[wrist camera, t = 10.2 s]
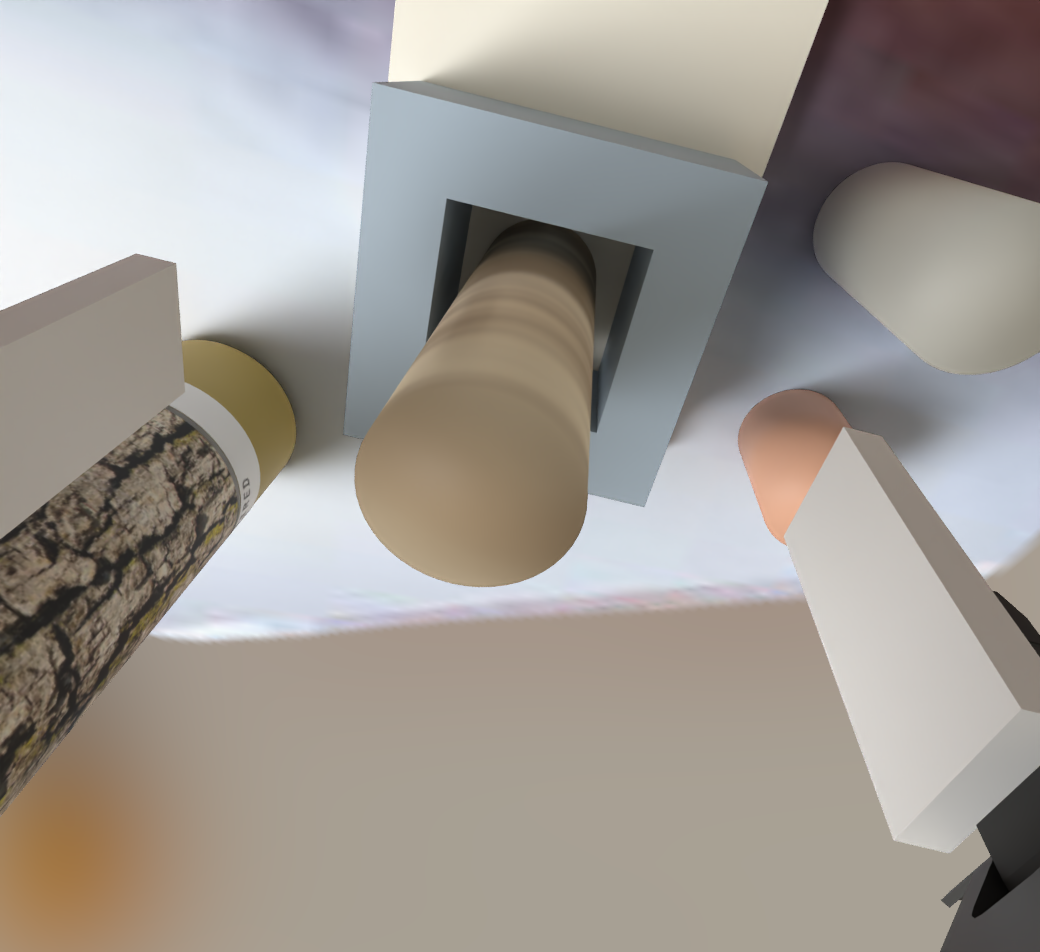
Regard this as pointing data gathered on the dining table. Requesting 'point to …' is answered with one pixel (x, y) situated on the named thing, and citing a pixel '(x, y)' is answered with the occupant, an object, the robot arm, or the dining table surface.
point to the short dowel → (787, 450)
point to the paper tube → (128, 547)
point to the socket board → (619, 76)
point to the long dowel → (492, 420)
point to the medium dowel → (937, 264)
